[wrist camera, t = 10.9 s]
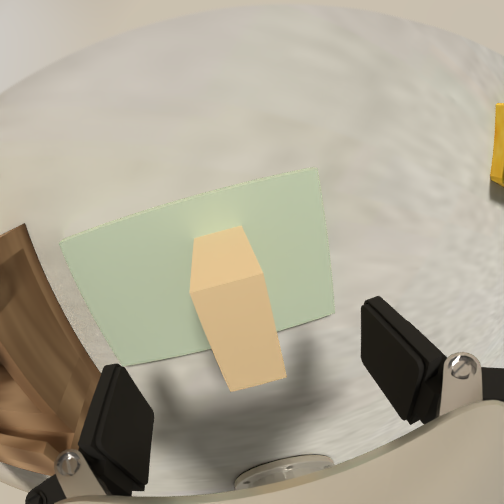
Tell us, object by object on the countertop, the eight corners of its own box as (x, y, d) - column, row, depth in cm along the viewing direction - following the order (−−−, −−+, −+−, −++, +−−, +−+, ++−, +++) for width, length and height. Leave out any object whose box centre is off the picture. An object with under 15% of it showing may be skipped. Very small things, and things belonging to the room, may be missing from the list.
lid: (308, 166, 15) (377, 185, 8) (327, 303, 18) (376, 370, 12) (67, 236, 14) (5, 290, 8) (125, 354, 17) (107, 432, 11)
